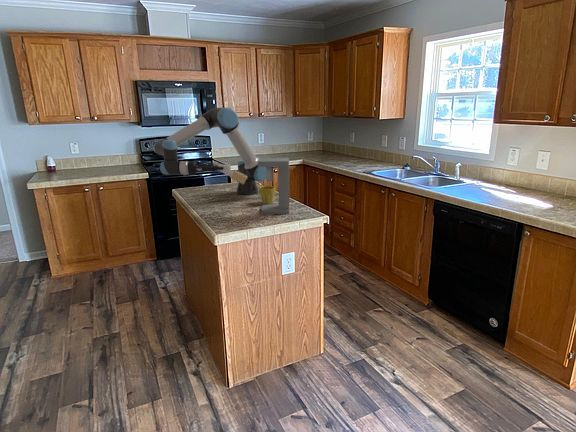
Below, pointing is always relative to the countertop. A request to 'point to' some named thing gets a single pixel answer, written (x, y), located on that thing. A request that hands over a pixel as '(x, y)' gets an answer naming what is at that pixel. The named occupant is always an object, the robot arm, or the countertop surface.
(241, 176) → the metal block
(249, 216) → the countertop surface
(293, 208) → the countertop surface
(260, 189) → the plant pot
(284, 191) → the press stand
